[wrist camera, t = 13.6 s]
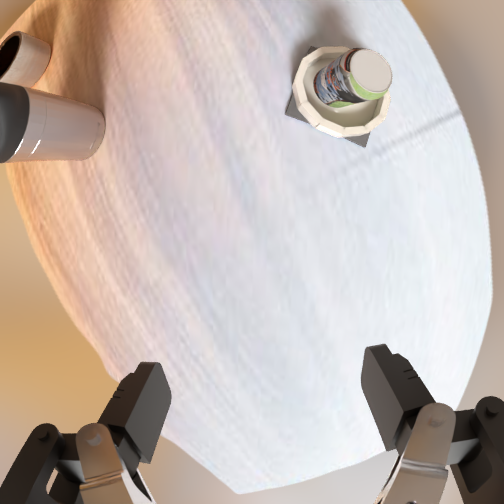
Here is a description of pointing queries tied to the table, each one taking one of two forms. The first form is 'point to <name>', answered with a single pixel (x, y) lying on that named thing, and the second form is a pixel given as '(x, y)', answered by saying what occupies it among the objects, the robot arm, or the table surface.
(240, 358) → the table surface
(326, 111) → the bowl
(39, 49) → the planter
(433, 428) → the robot arm
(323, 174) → the table surface
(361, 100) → the beverage can
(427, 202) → the table surface
